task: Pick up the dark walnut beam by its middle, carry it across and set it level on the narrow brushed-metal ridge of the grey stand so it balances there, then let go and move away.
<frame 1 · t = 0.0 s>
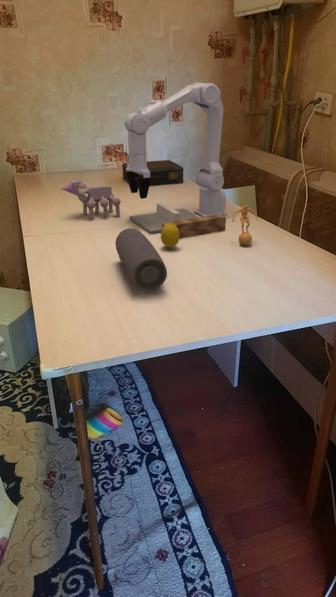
hand: (138, 195, 147), 10 cm above the table, tool pointing down, fingers open, 7 cm apart
bluetooth speaker: (140, 276, 115), on the table
lemon: (170, 249, 132), on the table
cash box: (152, 181, 210), on the table
fulcrum stand: (167, 221, 154), on the table
walnut beam: (194, 234, 144), on the table
figurine: (243, 244, 135), on the table
purple toy animal: (91, 217, 160), on the table
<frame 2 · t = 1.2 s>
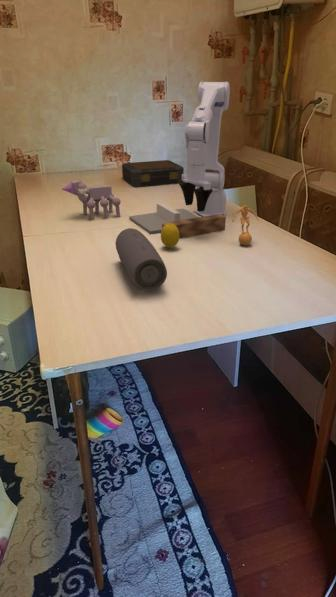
hand: (194, 207, 139), 9 cm above the table, tool pointing down, fingers open, 7 cm apart
nothing on the table moved.
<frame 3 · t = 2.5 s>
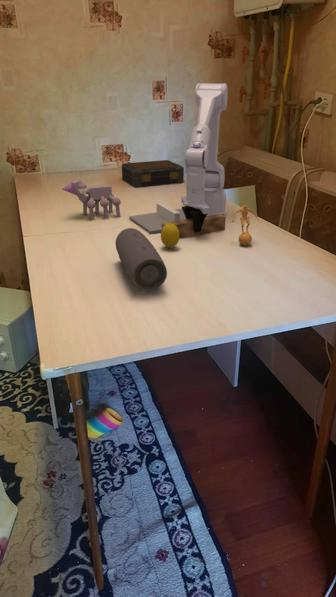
hand: (194, 229, 143), 1 cm above the table, tool pointing down, fingers closed on walnut beam, 3 cm apart
walnut beam: (194, 234, 144), on the table, touching gripper
everything else where it was.
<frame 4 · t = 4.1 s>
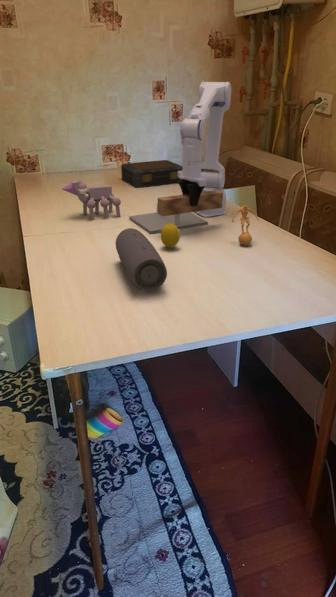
hand: (190, 204, 141), 9 cm above the table, tool pointing down, fingers closed on walnut beam, 3 cm apart
walnut beam: (190, 210, 142), point 7 cm above the table, touching gripper
everything else where it was.
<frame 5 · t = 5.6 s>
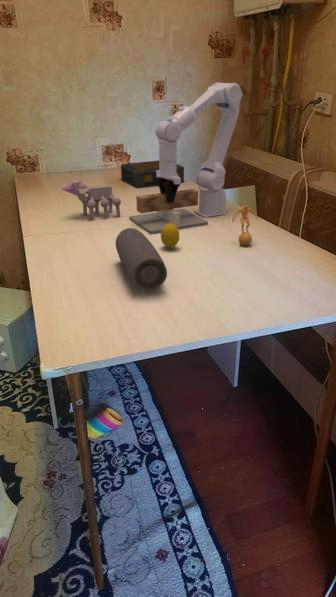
hand: (167, 201, 151), 7 cm above the table, tool pointing down, fingers closed on walnut beam, 3 cm apart
walnut beam: (167, 207, 152), point 5 cm above the table, touching fulcrum stand, gripper
when the fingers open (7 cm above the table, at t = 6.0 s): walnut beam stays where it is, resting on fulcrum stand.
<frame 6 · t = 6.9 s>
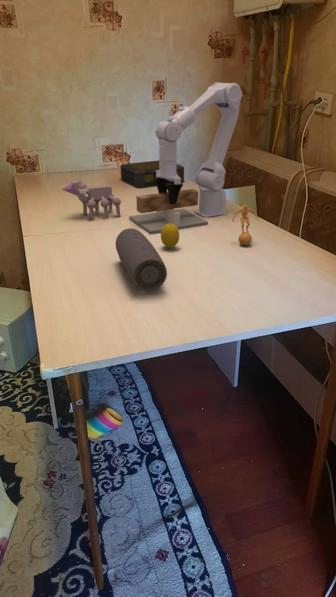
hand: (167, 201, 151), 7 cm above the table, tool pointing down, fingers open, 7 cm apart
walnut beam: (167, 207, 152), point 5 cm above the table, touching fulcrum stand
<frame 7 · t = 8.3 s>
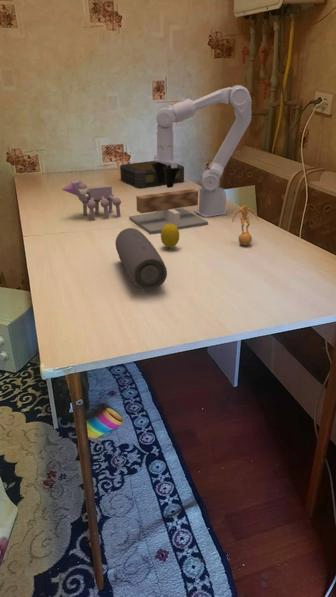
hand: (165, 184, 159), 10 cm above the table, tool pointing down, fingers open, 7 cm apart
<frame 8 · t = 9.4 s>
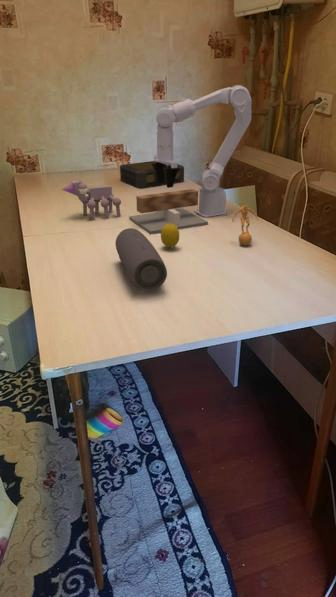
hand: (165, 184, 159), 10 cm above the table, tool pointing down, fingers open, 7 cm apart
at the end: walnut beam inside the target area on the fulcrum stand (0.0 cm from its centre), point 5.0 cm above the fulcrum stand's base; walnut beam tilted 0°; the gripper is holding nothing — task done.
